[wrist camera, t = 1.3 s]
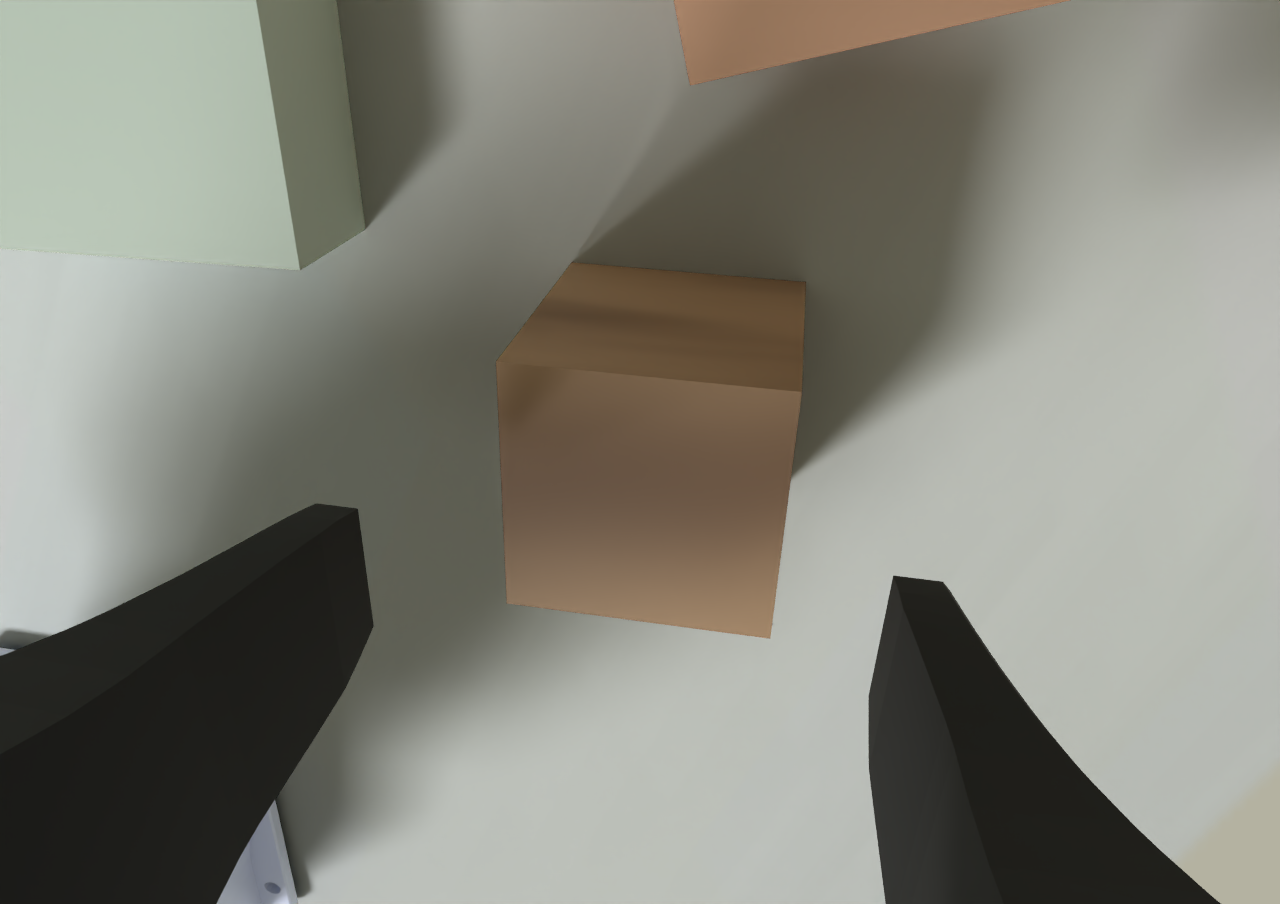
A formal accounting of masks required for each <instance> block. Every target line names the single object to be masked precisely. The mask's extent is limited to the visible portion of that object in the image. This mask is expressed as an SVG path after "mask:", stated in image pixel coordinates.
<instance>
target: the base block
mask: <svg viewBox="0 0 1280 904" xmlns="http://www.w3.org/2000/svg"><path fill="white" fill-rule="evenodd" d="M364 230H365V222H364V214H363V206H362V198H361V190H360V182H359V174H358V167H357V159H356V151H355V143H354V135H353V127H352V119H351V111H350V104H349V96H348V88H347V80H346V72H345V64H344V56H343V48H342V41H341V33H340V25H339V17H338V9H337V1H336V0H0V249H10V250H24V251H38V252H51V253H65V254H79V255H93V256H107V257H121V258H135V259H149V260H163V261H176V262H190V263H204V264H218V265H232V266H246V267H260V268H274V269H287V270H301V269H303V268H305V267H306V266H308V265H309V264H311V263H313V262H314V261H316V260H317V259H319V258H321V257H322V256H324V255H325V254H327V253H329V252H330V251H332V250H333V249H335V248H336V247H338V246H340V245H341V244H343V243H344V242H346V241H348V240H349V239H351V238H352V237H354V236H356V235H357V234H359V233H360V232H362V231H364Z"/></svg>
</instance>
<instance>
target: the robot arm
mask: <svg viewBox="0 0 1280 904" xmlns="http://www.w3.org/2000/svg"><path fill="white" fill-rule="evenodd" d="M372 628H373V619H372V611H371V604H370V596H369V589H368V582H367V574H366V567H365V560H364V552H363V545H362V537H361V530H360V523H359V515H358V509H356V508H348V507H340V506H332V505H324V504H314V505H312V506H310V507H307V508H305V509H303V510H301V511H299V512H297V513H295V514H293V515H291V516H289V517H287V518H285V519H283V520H281V521H279V522H278V523H276V524H274V525H272V526H270V527H268V528H266V529H265V530H263V531H261V532H259V533H257V534H255V535H254V536H252V537H250V538H248V539H246V540H245V541H243V542H241V543H239V544H237V545H235V546H234V547H232V548H230V549H228V550H226V551H224V552H222V553H221V554H219V555H217V556H215V557H213V558H211V559H210V560H208V561H206V562H204V563H202V564H200V565H199V566H197V567H195V568H193V569H191V570H189V571H187V572H186V573H184V574H182V575H180V576H178V577H176V578H174V579H172V580H170V581H168V582H166V583H164V584H162V585H160V586H158V587H156V588H154V589H152V590H150V591H148V592H146V593H144V594H142V595H140V596H138V597H136V598H134V599H132V600H130V601H127V602H125V603H123V604H121V605H119V606H117V607H115V608H113V609H111V610H109V611H107V612H105V613H103V614H101V615H98V616H96V617H94V618H92V619H90V620H87V621H85V622H83V623H81V624H78V625H76V626H74V627H71V628H69V629H67V630H64V631H62V632H59V633H57V634H55V635H52V636H50V637H47V638H45V639H42V640H40V641H37V642H35V643H32V644H30V645H27V646H25V647H23V648H20V649H17V650H13V649H6V648H0V904H298V899H297V895H296V891H295V886H294V882H293V877H292V873H291V868H290V864H289V859H288V855H287V850H286V846H285V842H284V837H283V833H282V828H281V824H280V819H279V815H278V810H277V806H276V801H275V799H276V797H277V796H278V794H279V792H280V791H281V789H282V788H283V786H284V785H285V783H286V782H287V780H288V778H289V777H290V775H291V774H292V772H293V771H294V769H295V768H296V766H297V764H298V763H299V761H300V760H301V758H302V757H303V755H304V753H305V752H306V750H307V749H308V747H309V746H310V744H311V743H312V741H313V739H314V738H315V736H316V735H317V733H318V732H319V730H320V728H321V727H322V725H323V724H324V722H325V720H326V719H327V717H328V716H329V714H330V712H331V711H332V709H333V708H334V706H335V704H336V703H337V701H338V699H339V698H340V696H341V695H342V693H343V691H344V690H345V688H346V686H347V684H348V682H349V679H350V677H351V675H352V673H353V671H354V669H355V667H356V665H357V663H358V661H359V658H360V656H361V654H362V651H363V649H364V647H365V644H366V642H367V640H368V638H369V635H370V633H371V631H372ZM869 773H870V781H871V790H872V798H873V806H874V814H875V822H876V830H877V838H878V846H879V854H880V862H881V870H882V878H883V885H884V893H885V901H886V904H1220V903H1219V902H1218V901H1216V899H1214V898H1213V897H1212V896H1211V895H1210V894H1209V893H1207V892H1206V891H1205V890H1204V889H1203V888H1202V887H1201V886H1199V885H1198V884H1197V883H1196V882H1195V881H1194V880H1193V879H1192V878H1190V877H1189V876H1188V875H1187V874H1186V873H1185V872H1184V871H1183V870H1182V869H1181V868H1179V867H1178V866H1177V865H1176V864H1175V863H1174V862H1173V861H1172V860H1170V859H1169V858H1168V857H1167V856H1166V855H1165V854H1164V853H1163V852H1161V851H1160V850H1159V849H1158V848H1157V847H1156V846H1155V845H1154V844H1153V843H1152V842H1151V841H1150V840H1149V839H1148V838H1147V837H1146V836H1145V835H1144V834H1142V833H1141V832H1140V831H1139V830H1138V829H1137V828H1136V827H1135V826H1134V825H1133V824H1132V823H1131V822H1130V821H1129V820H1128V819H1127V818H1126V817H1125V816H1124V815H1123V814H1122V813H1121V812H1120V811H1119V809H1118V808H1117V807H1116V806H1115V805H1114V804H1113V803H1112V802H1111V801H1110V800H1109V799H1108V798H1107V797H1106V796H1105V795H1104V794H1103V793H1102V792H1101V791H1100V790H1099V789H1098V788H1097V787H1096V786H1095V785H1094V784H1093V783H1092V782H1091V781H1090V779H1089V778H1088V777H1087V776H1086V775H1085V774H1084V773H1083V772H1082V771H1081V770H1080V768H1079V767H1078V766H1077V765H1076V764H1075V763H1074V762H1073V760H1072V759H1071V758H1070V757H1069V756H1068V754H1067V753H1066V752H1065V751H1064V750H1063V748H1062V747H1061V746H1060V745H1059V744H1058V742H1057V741H1056V740H1055V739H1054V738H1053V736H1052V735H1051V734H1050V733H1049V732H1048V730H1047V729H1046V728H1045V727H1044V725H1043V724H1042V723H1041V721H1040V720H1039V719H1038V718H1037V716H1036V715H1035V714H1034V712H1033V711H1032V710H1031V709H1030V707H1029V706H1028V705H1027V703H1026V702H1025V701H1024V699H1023V698H1022V696H1021V695H1020V694H1019V692H1018V691H1017V690H1016V688H1015V687H1014V686H1013V684H1012V683H1011V682H1010V680H1009V679H1008V677H1007V676H1006V675H1005V673H1004V672H1003V671H1002V669H1001V668H1000V666H999V665H998V663H997V662H996V661H995V659H994V658H993V656H992V655H991V653H990V652H989V650H988V649H987V647H986V646H985V644H984V643H983V641H982V640H981V638H980V637H979V635H978V634H977V632H976V631H975V629H974V628H973V626H972V625H971V623H970V622H969V620H968V619H967V617H966V615H965V614H964V612H963V611H962V609H961V608H960V606H959V604H958V603H957V601H956V600H955V598H954V597H953V595H952V593H951V592H950V590H949V589H948V588H947V586H946V585H945V584H944V583H943V582H940V581H932V580H924V579H916V578H908V577H900V576H893V580H892V585H891V590H890V595H889V600H888V605H887V610H886V614H885V619H884V624H883V629H882V634H881V639H880V644H879V649H878V654H877V658H876V663H875V668H874V673H873V678H872V683H871V688H870V693H869Z"/></svg>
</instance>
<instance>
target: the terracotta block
mask: <svg viewBox="0 0 1280 904" xmlns="http://www.w3.org/2000/svg"><path fill="white" fill-rule="evenodd" d="M1064 1H1069V0H674V4H675V9H676V14H677V20H678V25H679V30H680V35H681V41H682V46H683V51H684V56H685V62H686V67H687V72H688V77H689V82H690V85H694V84H699V83H703V82H708V81H712V80H717V79H721V78H726V77H730V76H734V75H739V74H743V73H748V72H752V71H757V70H761V69H766V68H770V67H775V66H779V65H784V64H788V63H792V62H797V61H801V60H806V59H810V58H815V57H819V56H824V55H828V54H833V53H837V52H842V51H846V50H850V49H855V48H859V47H864V46H868V45H873V44H877V43H882V42H886V41H891V40H895V39H899V38H904V37H908V36H913V35H917V34H922V33H926V32H931V31H935V30H940V29H944V28H949V27H953V26H957V25H962V24H966V23H971V22H975V21H980V20H984V19H989V18H993V17H998V16H1002V15H1007V14H1011V13H1015V12H1020V11H1024V10H1029V9H1033V8H1038V7H1042V6H1047V5H1051V4H1056V3H1060V2H1064Z"/></svg>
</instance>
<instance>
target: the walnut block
mask: <svg viewBox="0 0 1280 904" xmlns="http://www.w3.org/2000/svg"><path fill="white" fill-rule="evenodd" d="M805 295H806V282H798V281H786V280H775V279H763V278H751V277H739V276H727V275H715V274H704V273H692V272H680V271H668V270H656V269H644V268H633V267H621V266H609V265H597V264H585V263H573V262H572V263H571V264H570V265H569V267H568V268H567V269H566V271H565V272H564V273H563V275H562V276H561V277H560V278H559V280H558V281H557V282H556V284H555V285H554V286H553V288H552V289H551V290H550V292H549V293H548V294H547V295H546V297H545V298H544V299H543V301H542V302H541V303H540V305H539V306H538V307H537V309H536V310H535V311H534V312H533V314H532V315H531V316H530V318H529V319H528V320H527V322H526V323H525V324H524V326H523V327H522V328H521V329H520V331H519V332H518V333H517V335H516V336H515V337H514V339H513V340H512V341H511V343H510V344H509V345H508V346H507V348H506V349H505V350H504V352H503V353H502V354H501V356H500V357H499V358H498V360H497V361H496V375H497V397H498V420H499V442H500V464H501V487H502V509H503V531H504V554H505V576H506V598H507V603H508V604H516V605H523V606H531V607H538V608H545V609H553V610H560V611H568V612H575V613H583V614H590V615H598V616H605V617H613V618H620V619H628V620H635V621H643V622H650V623H658V624H665V625H672V626H680V627H687V628H695V629H702V630H710V631H717V632H725V633H732V634H740V635H747V636H755V637H762V638H770V635H771V628H772V620H773V612H774V604H775V597H776V589H777V581H778V574H779V566H780V558H781V550H782V543H783V535H784V527H785V520H786V512H787V504H788V496H789V489H790V481H791V473H792V465H793V458H794V450H795V442H796V435H797V427H798V419H799V411H800V404H801V396H802V378H803V350H804V322H805Z"/></svg>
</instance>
